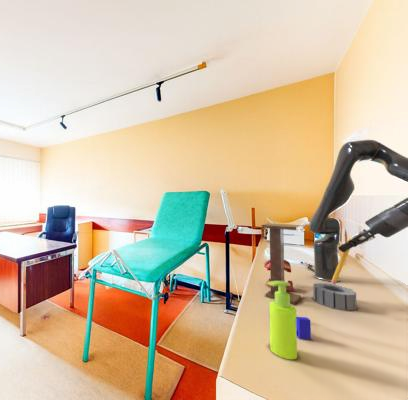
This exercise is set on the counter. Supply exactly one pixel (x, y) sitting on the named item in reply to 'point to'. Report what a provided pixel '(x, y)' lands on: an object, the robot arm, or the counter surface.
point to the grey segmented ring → (334, 296)
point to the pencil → (340, 266)
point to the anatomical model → (287, 268)
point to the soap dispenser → (283, 323)
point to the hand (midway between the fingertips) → (340, 249)
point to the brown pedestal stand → (279, 257)
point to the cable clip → (303, 327)
